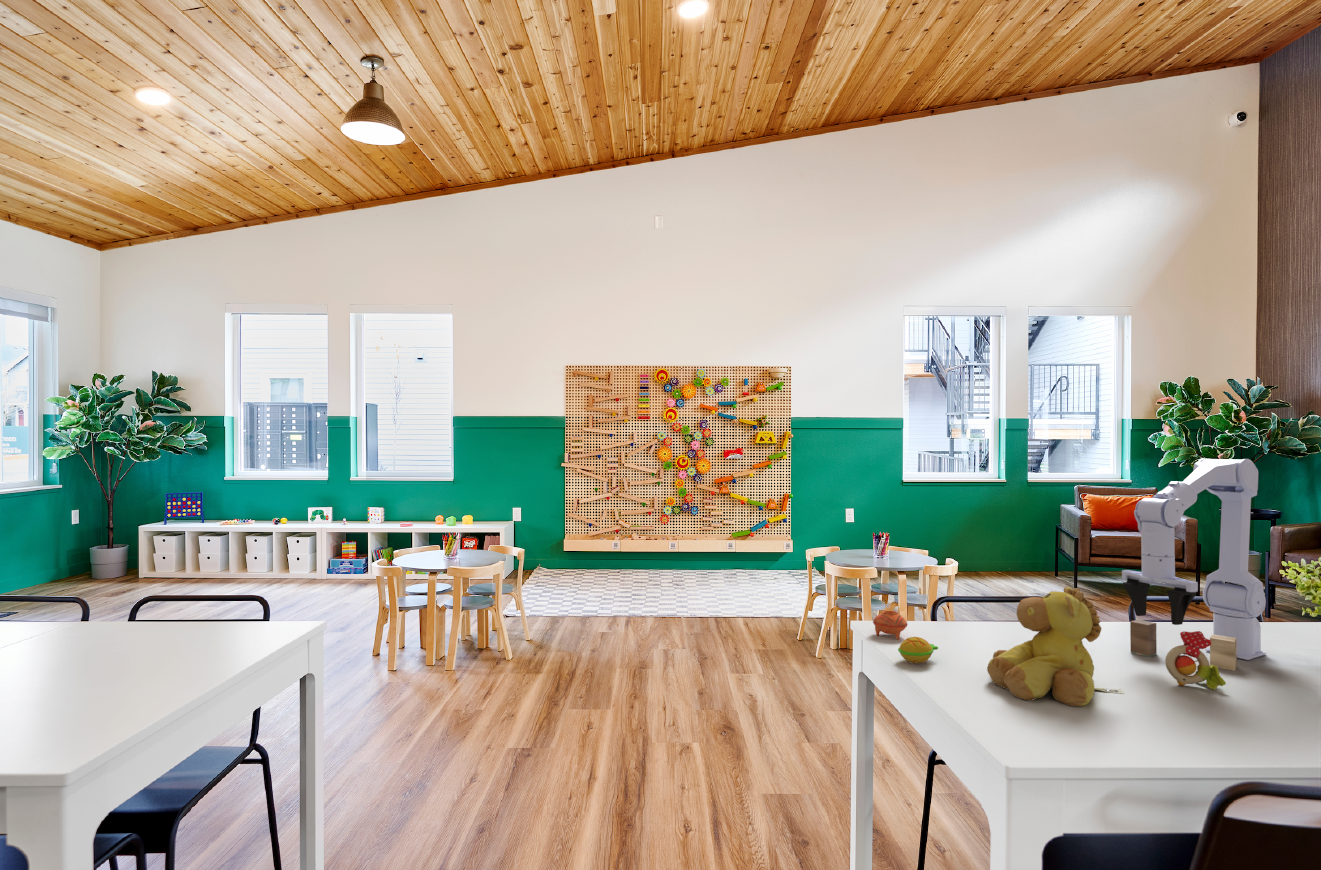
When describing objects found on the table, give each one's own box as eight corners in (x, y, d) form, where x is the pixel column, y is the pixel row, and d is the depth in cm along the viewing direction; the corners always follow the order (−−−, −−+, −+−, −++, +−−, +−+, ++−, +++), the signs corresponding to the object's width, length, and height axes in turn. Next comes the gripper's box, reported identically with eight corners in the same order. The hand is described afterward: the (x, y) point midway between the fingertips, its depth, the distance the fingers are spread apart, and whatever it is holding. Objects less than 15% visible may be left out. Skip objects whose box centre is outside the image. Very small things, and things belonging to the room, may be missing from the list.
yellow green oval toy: (891, 662, 146) (891, 637, 147) (912, 653, 153) (912, 629, 154) (923, 670, 142) (923, 644, 142) (943, 660, 149) (943, 635, 149)
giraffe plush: (970, 671, 142) (970, 577, 142) (1085, 672, 141) (1084, 578, 142) (1022, 708, 121) (1021, 599, 122) (1156, 709, 121) (1155, 600, 121)
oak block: (1212, 662, 148) (1212, 634, 149) (1236, 666, 146) (1236, 637, 146) (1210, 666, 146) (1209, 637, 146) (1234, 670, 143) (1234, 641, 143)
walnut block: (1138, 650, 157) (1138, 619, 157) (1156, 654, 154) (1156, 622, 154) (1130, 652, 155) (1130, 621, 155) (1148, 656, 152) (1148, 624, 152)
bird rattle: (1192, 702, 130) (1240, 685, 129) (1165, 647, 131) (1213, 629, 130) (1172, 691, 136) (1218, 674, 135) (1147, 638, 137) (1192, 621, 136)
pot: (876, 639, 163) (874, 610, 165) (872, 638, 171) (870, 610, 172) (911, 639, 162) (909, 610, 164) (905, 639, 170) (903, 610, 171)
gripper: (1111, 550, 150) (1112, 613, 150) (1180, 561, 137) (1180, 629, 136) (1134, 549, 153) (1135, 610, 152) (1204, 559, 139) (1205, 627, 139)
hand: (1158, 619), depth 144 cm, fingers open, 7 cm apart
